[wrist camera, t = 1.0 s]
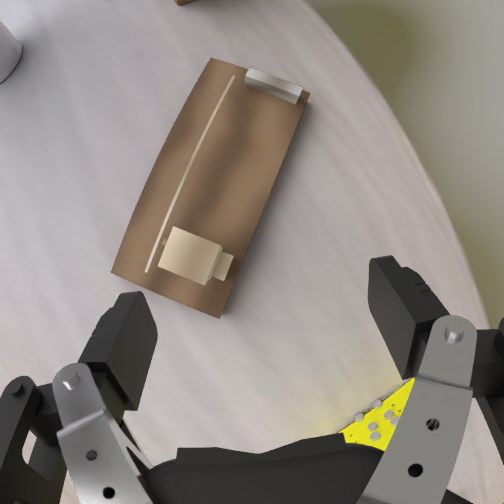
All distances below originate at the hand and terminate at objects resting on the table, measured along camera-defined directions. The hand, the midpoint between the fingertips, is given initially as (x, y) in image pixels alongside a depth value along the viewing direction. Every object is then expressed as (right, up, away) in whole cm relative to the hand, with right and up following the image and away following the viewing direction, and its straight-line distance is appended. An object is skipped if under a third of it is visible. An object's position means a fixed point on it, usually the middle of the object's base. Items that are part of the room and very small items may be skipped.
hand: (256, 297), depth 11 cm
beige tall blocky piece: (-5, +1, +20) cm, 21 cm away
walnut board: (-4, +9, +22) cm, 25 cm away
